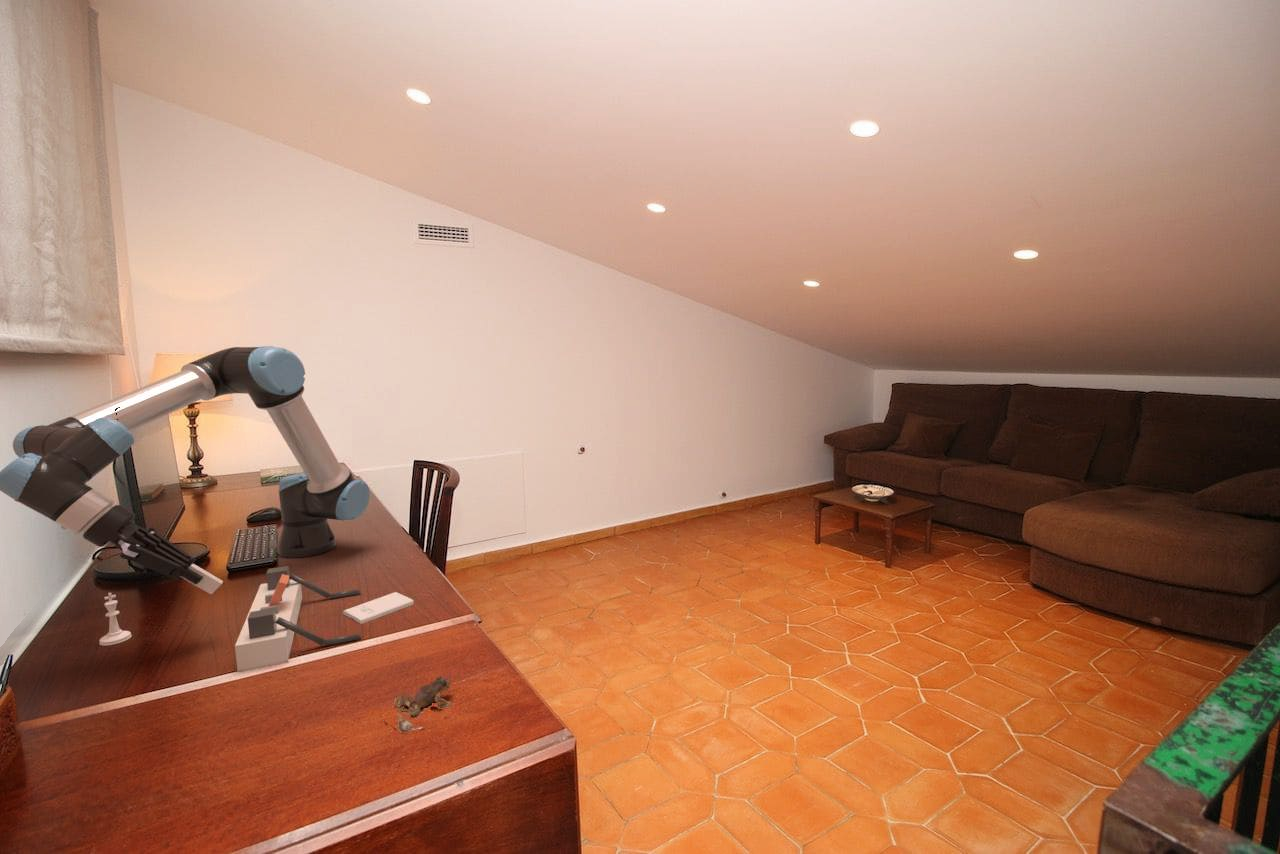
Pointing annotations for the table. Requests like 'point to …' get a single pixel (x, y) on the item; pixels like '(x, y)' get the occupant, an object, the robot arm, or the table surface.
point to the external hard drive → (378, 607)
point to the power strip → (278, 622)
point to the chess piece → (113, 625)
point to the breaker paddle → (279, 590)
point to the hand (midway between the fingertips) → (217, 587)
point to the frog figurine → (421, 702)
